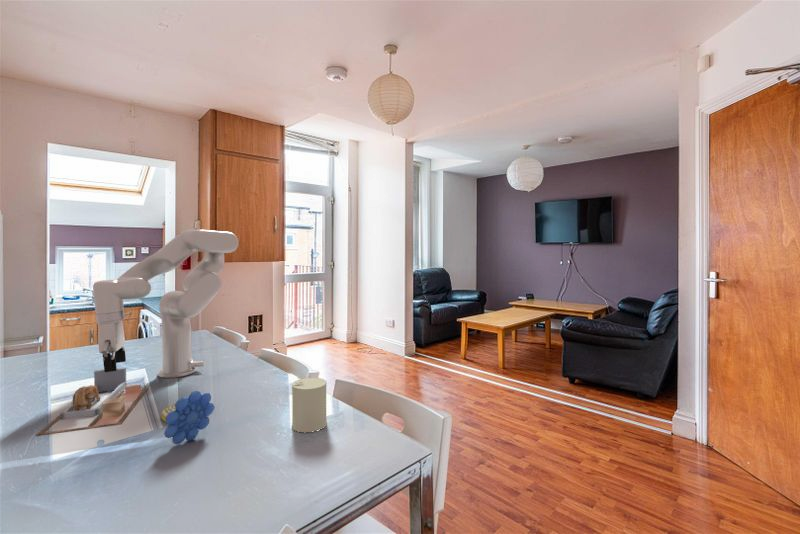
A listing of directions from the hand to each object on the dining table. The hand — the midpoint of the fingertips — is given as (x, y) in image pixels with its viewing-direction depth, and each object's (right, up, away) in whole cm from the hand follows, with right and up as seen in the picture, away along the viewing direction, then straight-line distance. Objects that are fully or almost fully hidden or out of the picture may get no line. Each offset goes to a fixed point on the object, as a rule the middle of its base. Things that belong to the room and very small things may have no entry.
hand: (115, 366), depth 127 cm
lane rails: (+9, -8, -18) cm, 22 cm away
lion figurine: (+6, -9, -18) cm, 21 cm away
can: (+72, -9, -26) cm, 77 cm away
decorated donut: (+36, -9, -22) cm, 43 cm away
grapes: (+44, -9, -34) cm, 56 cm away
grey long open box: (+4, -8, -12) cm, 15 cm away
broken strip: (+14, -8, -16) cm, 23 cm away
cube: (+17, -7, -22) cm, 29 cm away
